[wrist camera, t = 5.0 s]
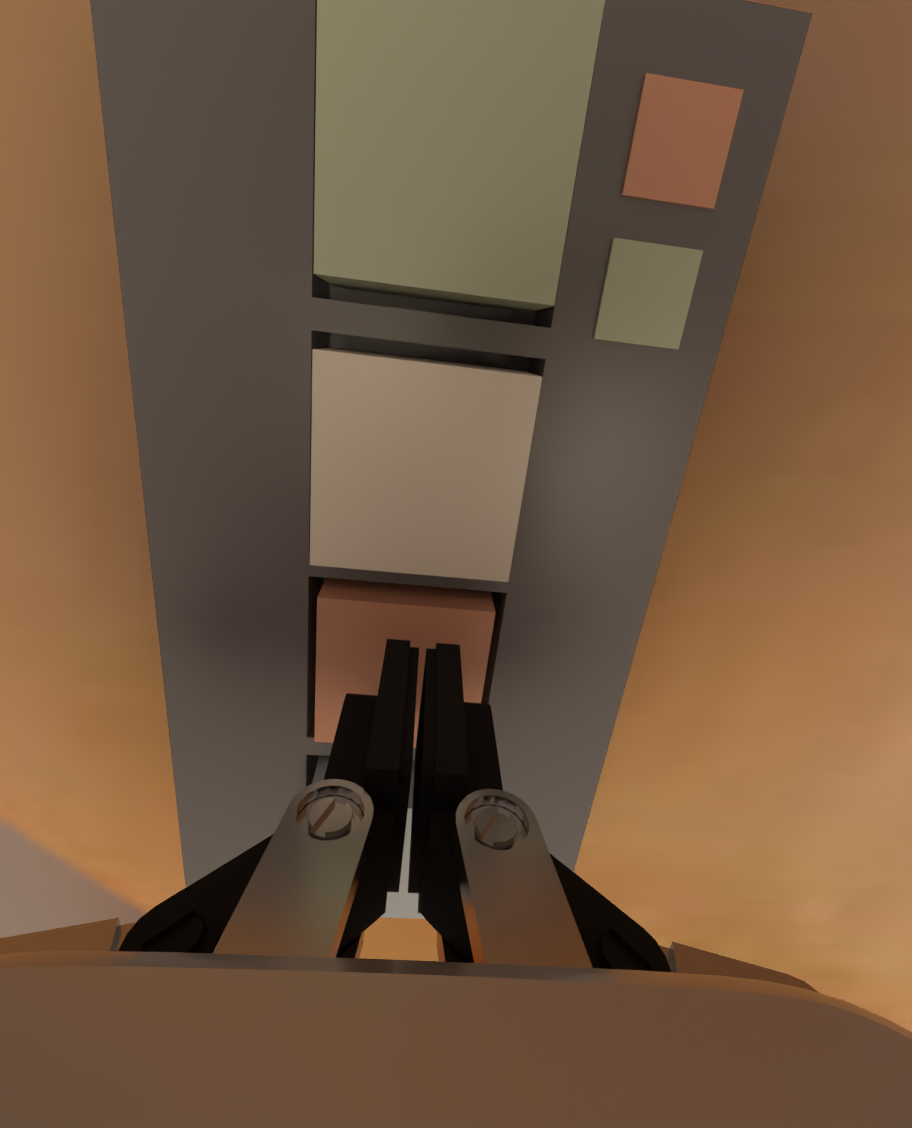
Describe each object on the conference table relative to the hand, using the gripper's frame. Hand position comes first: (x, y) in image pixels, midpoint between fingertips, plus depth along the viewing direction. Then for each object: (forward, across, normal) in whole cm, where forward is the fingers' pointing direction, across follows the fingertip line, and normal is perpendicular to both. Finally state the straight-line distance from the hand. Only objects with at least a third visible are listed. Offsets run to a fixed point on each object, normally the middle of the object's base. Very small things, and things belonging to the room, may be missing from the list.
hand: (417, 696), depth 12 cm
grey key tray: (+4, 0, -2) cm, 5 cm away
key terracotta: (+4, 0, 0) cm, 4 cm away
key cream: (+3, 0, -5) cm, 6 cm away
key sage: (+3, 0, -10) cm, 11 cm away
